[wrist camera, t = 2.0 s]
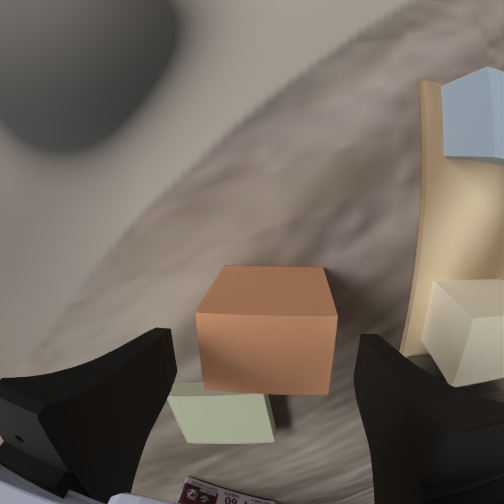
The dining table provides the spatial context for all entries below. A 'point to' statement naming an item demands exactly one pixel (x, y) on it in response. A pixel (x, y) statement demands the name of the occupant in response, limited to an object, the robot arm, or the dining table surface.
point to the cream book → (466, 330)
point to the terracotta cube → (267, 331)
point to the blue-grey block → (475, 116)
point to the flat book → (221, 415)
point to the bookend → (489, 389)
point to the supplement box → (213, 495)
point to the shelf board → (451, 220)
